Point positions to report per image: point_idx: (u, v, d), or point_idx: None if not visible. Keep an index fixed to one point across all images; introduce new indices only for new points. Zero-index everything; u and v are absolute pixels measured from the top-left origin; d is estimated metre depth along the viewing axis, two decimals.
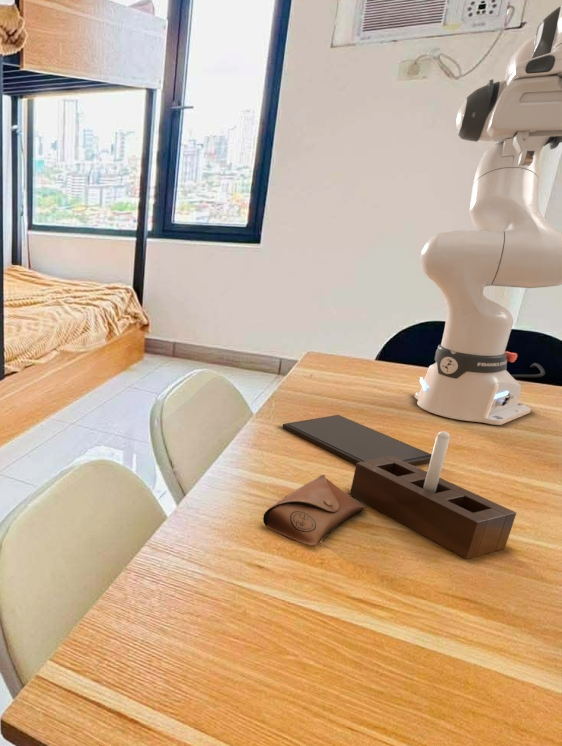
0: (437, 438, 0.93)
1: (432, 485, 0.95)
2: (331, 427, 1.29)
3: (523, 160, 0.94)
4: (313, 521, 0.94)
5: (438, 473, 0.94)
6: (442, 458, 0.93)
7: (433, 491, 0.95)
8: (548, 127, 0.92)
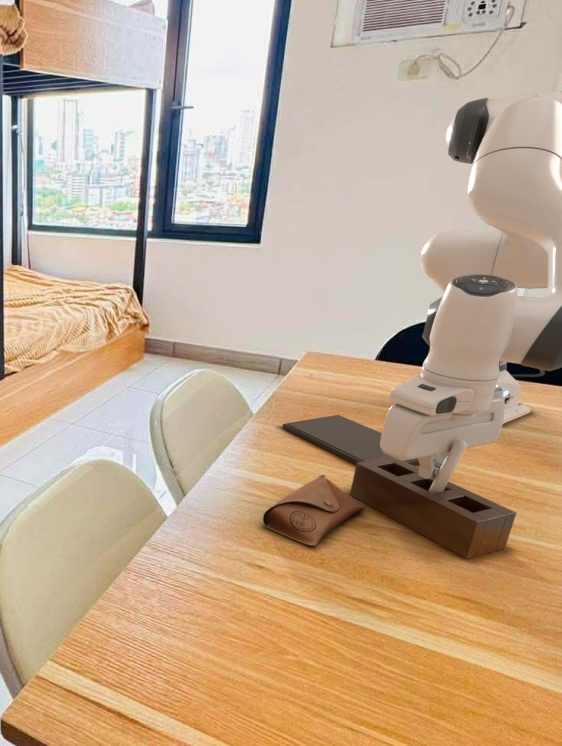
0: (453, 446, 0.91)
1: (437, 490, 0.94)
2: (331, 427, 1.29)
3: (430, 477, 0.94)
4: (313, 521, 0.94)
5: (446, 479, 0.93)
6: (453, 466, 0.91)
7: None
8: (434, 454, 0.91)
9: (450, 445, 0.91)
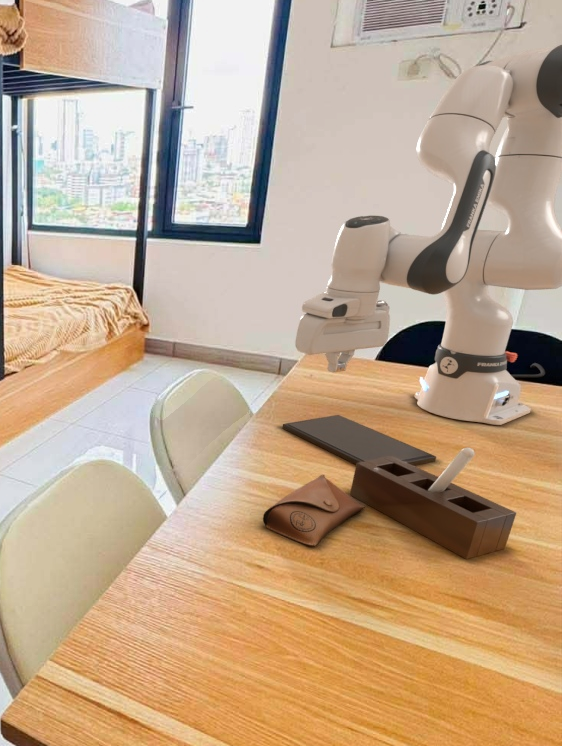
0: (460, 452, 0.90)
1: (436, 491, 0.94)
2: (331, 427, 1.29)
3: (335, 371, 1.25)
4: (313, 521, 0.94)
5: (446, 483, 0.93)
6: (456, 471, 0.91)
7: None
8: (335, 351, 1.22)
9: (347, 345, 1.22)
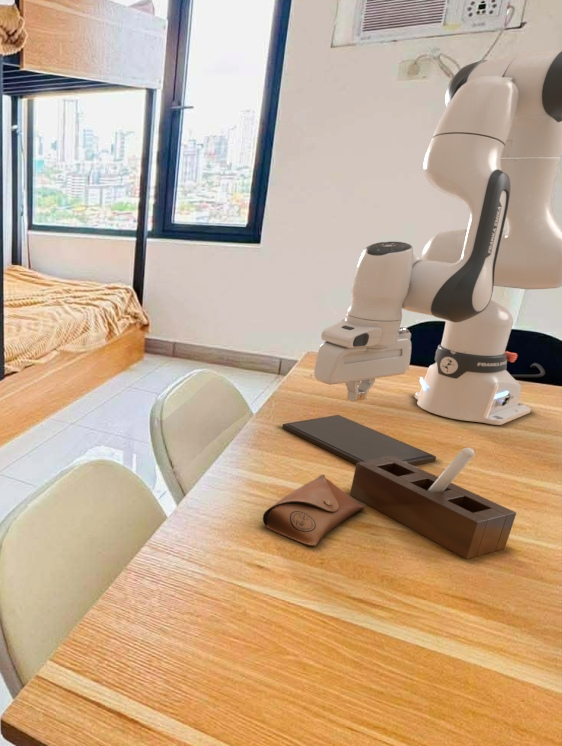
0: (460, 452, 0.90)
1: (436, 491, 0.94)
2: (331, 427, 1.29)
3: (355, 400, 1.21)
4: (313, 521, 0.94)
5: (446, 483, 0.93)
6: (456, 471, 0.91)
7: None
8: (355, 380, 1.18)
9: (368, 373, 1.19)
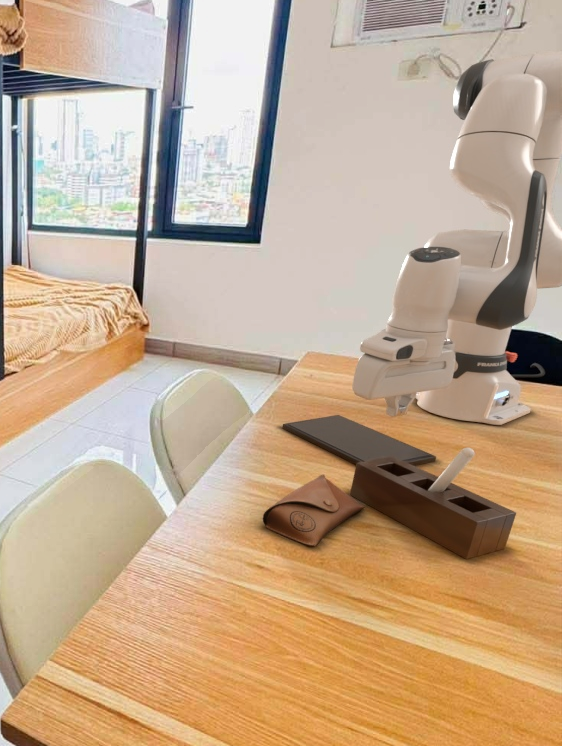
0: (460, 452, 0.90)
1: (436, 491, 0.94)
2: (331, 427, 1.29)
3: (395, 415, 1.14)
4: (313, 521, 0.94)
5: (446, 483, 0.93)
6: (456, 472, 0.91)
7: None
8: (396, 395, 1.11)
9: (410, 388, 1.11)
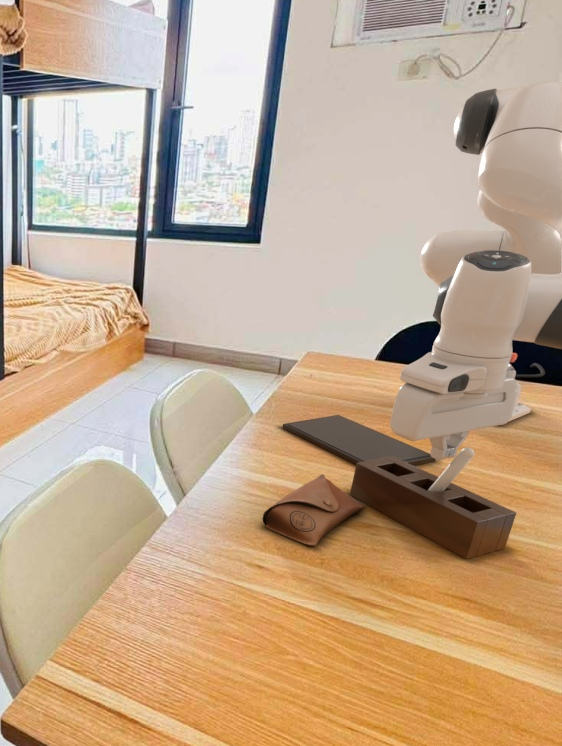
0: (460, 452, 0.90)
1: (436, 491, 0.94)
2: (331, 427, 1.29)
3: (442, 458, 0.92)
4: (313, 520, 0.94)
5: (446, 483, 0.93)
6: (456, 472, 0.91)
7: None
8: (445, 434, 0.89)
9: (461, 425, 0.90)
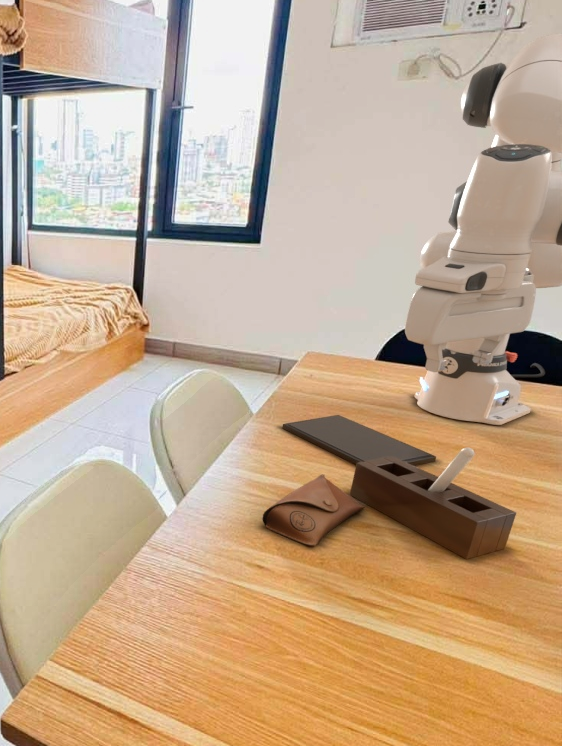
0: (460, 452, 0.90)
1: (436, 491, 0.94)
2: (331, 427, 1.29)
3: (438, 370, 0.89)
4: (313, 520, 0.94)
5: (446, 483, 0.93)
6: (456, 472, 0.91)
7: None
8: (462, 340, 0.87)
9: (478, 330, 0.87)
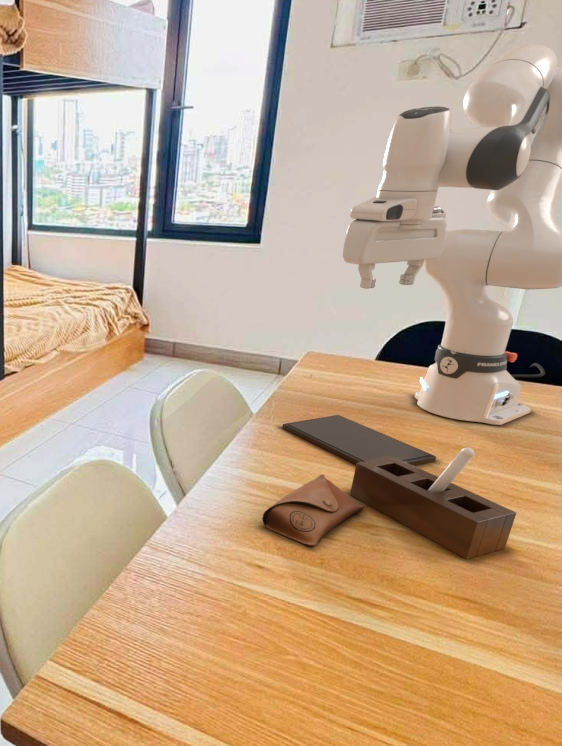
0: (460, 452, 0.90)
1: (436, 491, 0.94)
2: (331, 427, 1.29)
3: (369, 287, 1.12)
4: (313, 520, 0.94)
5: (446, 483, 0.93)
6: (456, 472, 0.91)
7: None
8: (387, 261, 1.11)
9: (400, 254, 1.11)
